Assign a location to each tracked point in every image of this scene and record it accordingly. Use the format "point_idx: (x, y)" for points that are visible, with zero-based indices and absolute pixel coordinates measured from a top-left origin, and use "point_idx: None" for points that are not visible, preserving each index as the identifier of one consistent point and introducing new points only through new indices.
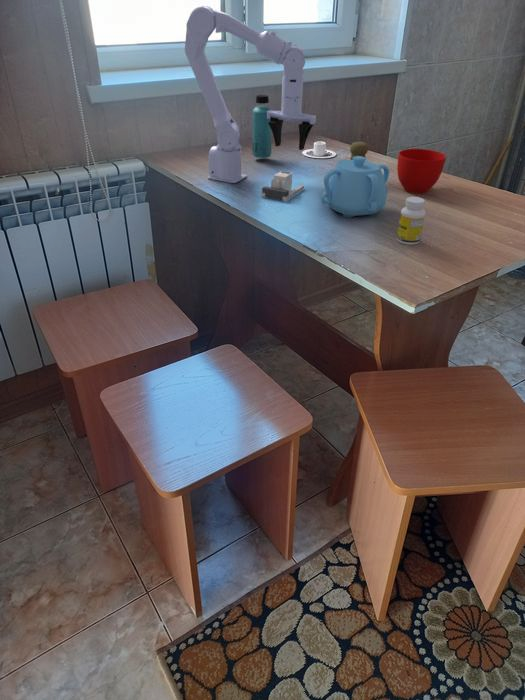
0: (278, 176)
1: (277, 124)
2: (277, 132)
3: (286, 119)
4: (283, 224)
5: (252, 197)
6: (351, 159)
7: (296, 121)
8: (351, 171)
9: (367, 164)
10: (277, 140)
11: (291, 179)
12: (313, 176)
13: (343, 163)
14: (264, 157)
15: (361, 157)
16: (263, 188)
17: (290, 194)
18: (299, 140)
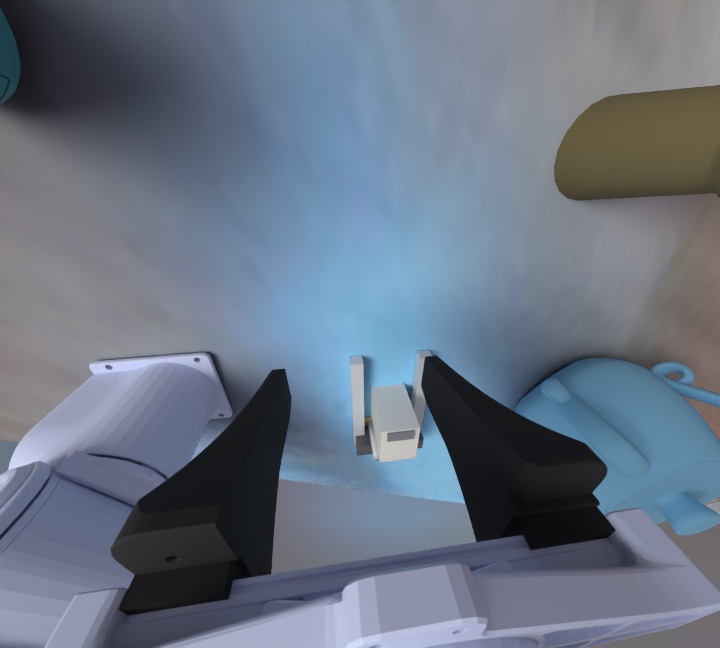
0: (394, 459)
1: (262, 542)
2: (273, 470)
3: (341, 586)
4: (447, 487)
5: (338, 446)
6: (669, 184)
7: (450, 557)
8: None
9: (706, 483)
10: (285, 425)
11: (414, 413)
12: (415, 204)
13: (628, 506)
14: (16, 84)
15: (708, 527)
16: (360, 454)
17: (421, 423)
18: (441, 433)
